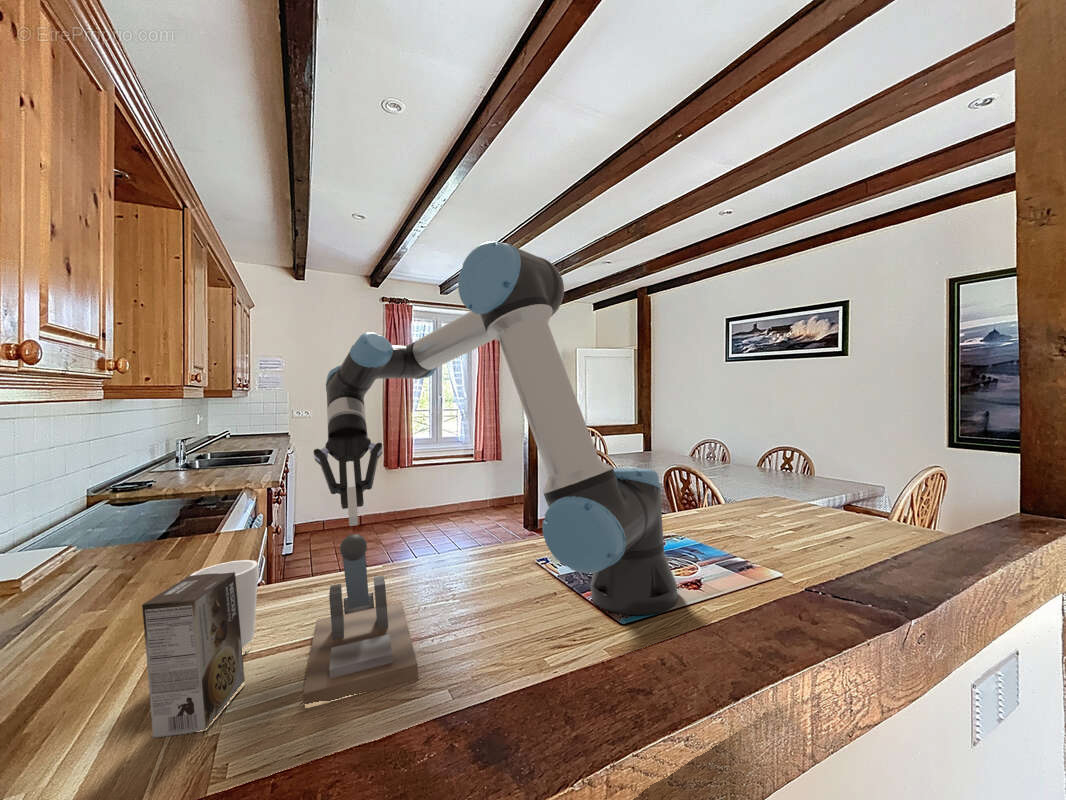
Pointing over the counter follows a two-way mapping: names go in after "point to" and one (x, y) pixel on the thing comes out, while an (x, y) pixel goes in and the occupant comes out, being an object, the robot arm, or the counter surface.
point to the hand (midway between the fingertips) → (353, 521)
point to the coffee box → (192, 652)
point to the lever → (356, 574)
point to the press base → (359, 649)
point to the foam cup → (241, 592)
